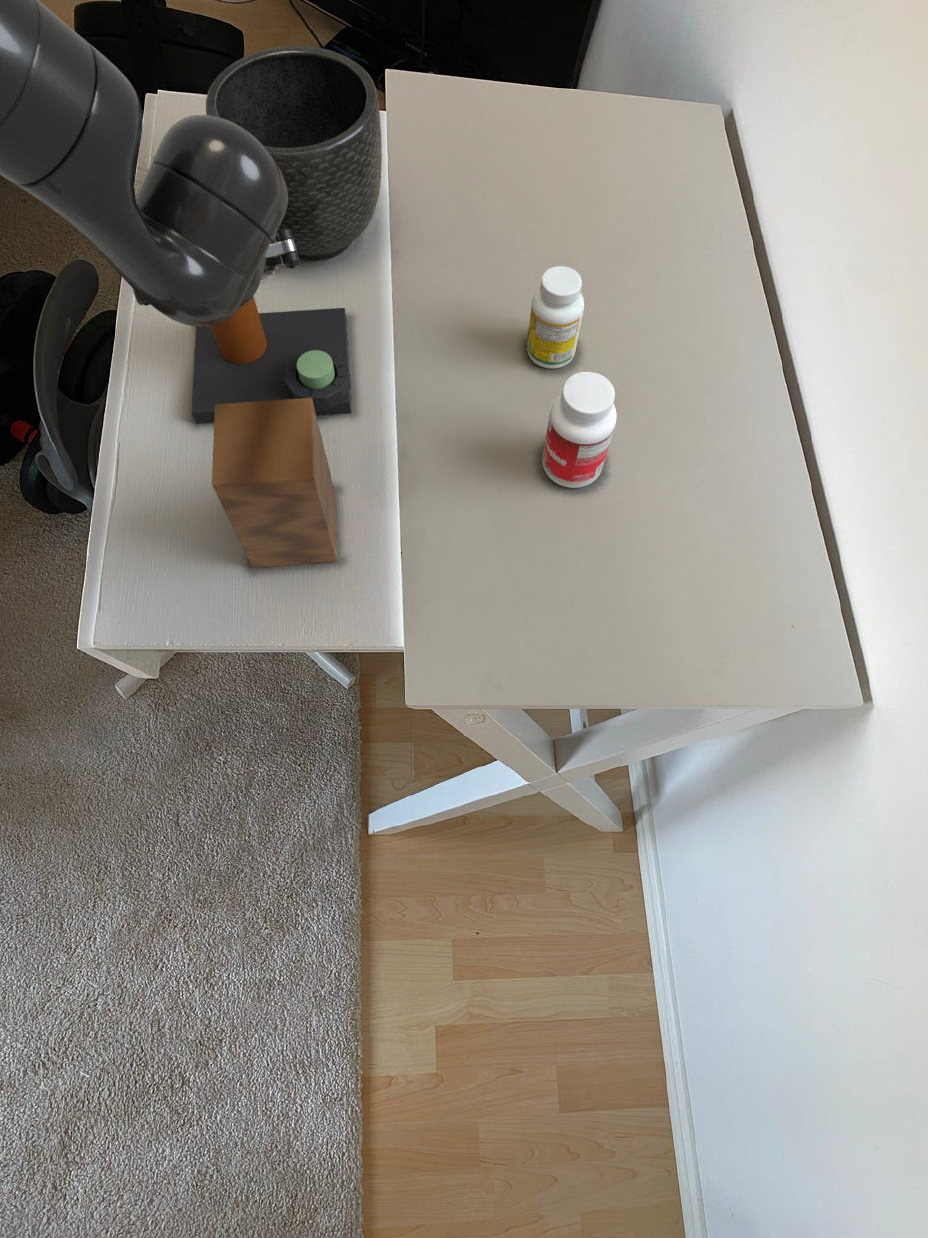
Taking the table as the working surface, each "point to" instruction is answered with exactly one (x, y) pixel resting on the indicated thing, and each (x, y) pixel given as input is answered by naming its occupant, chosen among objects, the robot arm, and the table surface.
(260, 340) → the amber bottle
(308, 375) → the button
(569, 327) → the supplement bottle
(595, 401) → the pill bottle
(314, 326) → the scale
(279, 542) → the oak stand
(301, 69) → the planter
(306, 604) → the table surface
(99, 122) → the robot arm
